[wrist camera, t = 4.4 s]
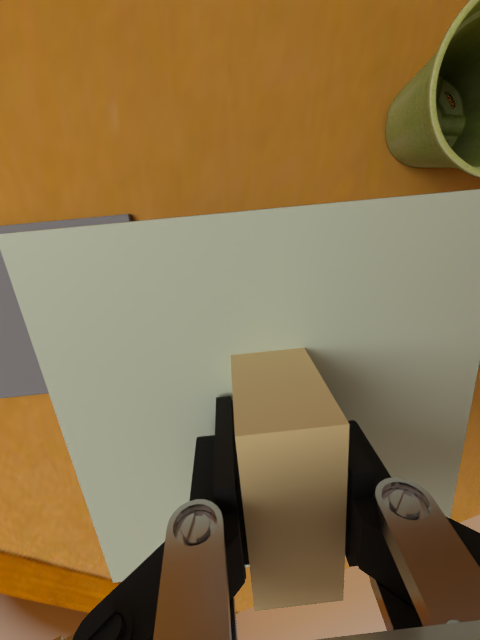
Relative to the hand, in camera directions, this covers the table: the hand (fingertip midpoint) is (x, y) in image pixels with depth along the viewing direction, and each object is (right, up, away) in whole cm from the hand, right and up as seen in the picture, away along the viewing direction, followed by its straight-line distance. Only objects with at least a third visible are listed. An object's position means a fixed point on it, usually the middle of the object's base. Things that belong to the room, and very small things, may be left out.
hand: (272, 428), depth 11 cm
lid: (0, 0, +1) cm, 1 cm away
